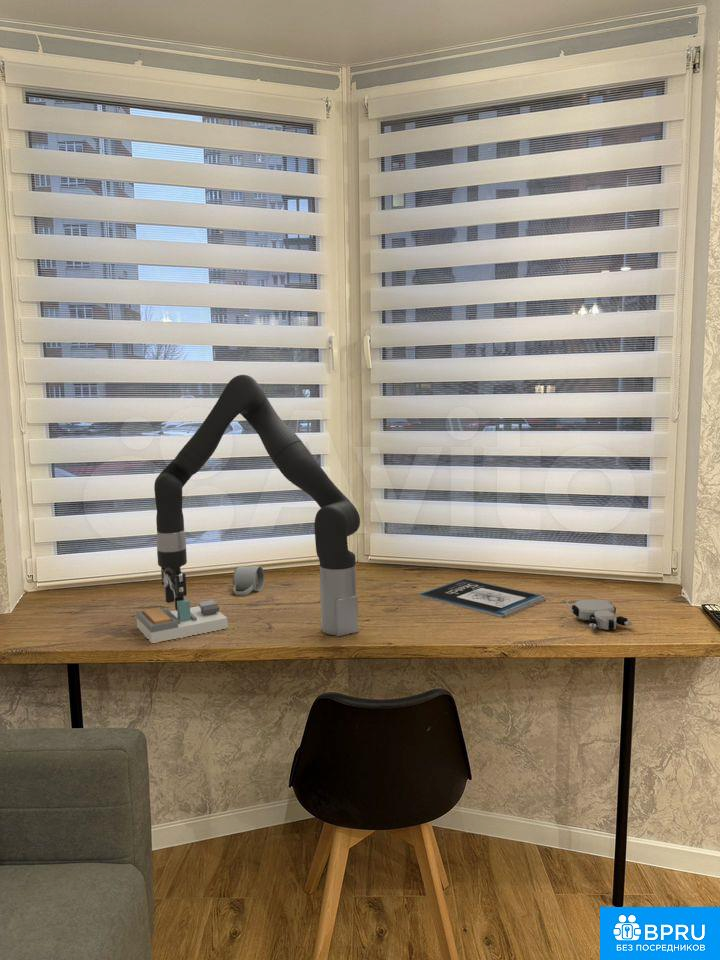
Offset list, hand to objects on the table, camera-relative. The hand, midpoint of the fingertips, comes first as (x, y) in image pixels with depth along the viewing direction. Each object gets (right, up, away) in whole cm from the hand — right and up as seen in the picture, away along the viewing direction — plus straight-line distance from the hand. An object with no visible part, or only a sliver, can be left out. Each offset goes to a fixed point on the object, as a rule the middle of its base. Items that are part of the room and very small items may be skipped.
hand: (174, 606), depth 197 cm
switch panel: (+3, -5, -4) cm, 7 cm away
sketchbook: (+86, -1, +17) cm, 87 cm away
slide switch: (+4, -2, -6) cm, 8 cm away
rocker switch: (+9, -1, -1) cm, 9 cm away
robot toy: (+112, -4, -6) cm, 113 cm away
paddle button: (-3, -3, -8) cm, 9 cm away
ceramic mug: (+15, -1, +29) cm, 33 cm away
